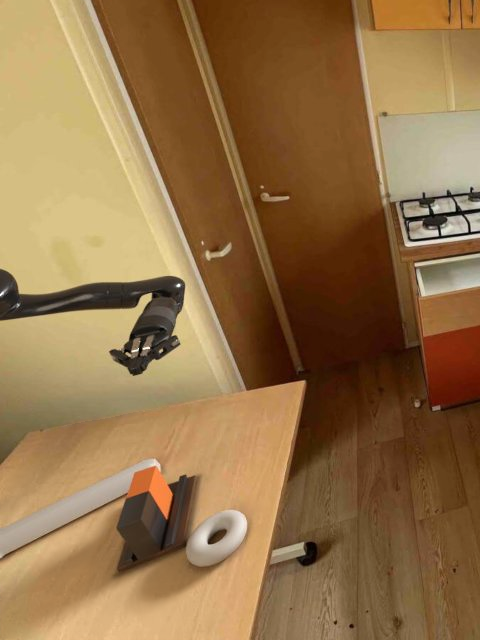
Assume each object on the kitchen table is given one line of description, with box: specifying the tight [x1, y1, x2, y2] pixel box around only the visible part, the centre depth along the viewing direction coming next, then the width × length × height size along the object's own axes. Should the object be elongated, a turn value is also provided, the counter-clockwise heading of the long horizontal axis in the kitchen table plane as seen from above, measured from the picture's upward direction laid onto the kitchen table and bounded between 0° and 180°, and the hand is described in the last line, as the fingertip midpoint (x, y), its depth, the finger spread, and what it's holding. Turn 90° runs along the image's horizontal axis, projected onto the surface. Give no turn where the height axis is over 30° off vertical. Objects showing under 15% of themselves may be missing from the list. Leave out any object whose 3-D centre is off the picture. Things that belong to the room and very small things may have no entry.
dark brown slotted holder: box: [115, 473, 198, 574], centre depth 83 cm, size 10×16×11 cm, turn 27°
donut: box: [185, 509, 248, 568], centre depth 81 cm, size 10×3×10 cm
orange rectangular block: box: [125, 466, 174, 522], centre depth 83 cm, size 4×6×10 cm, turn 27°
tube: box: [0, 458, 162, 559], centre depth 87 cm, size 5×5×25 cm
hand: (135, 371), depth 88 cm, fingers closed
